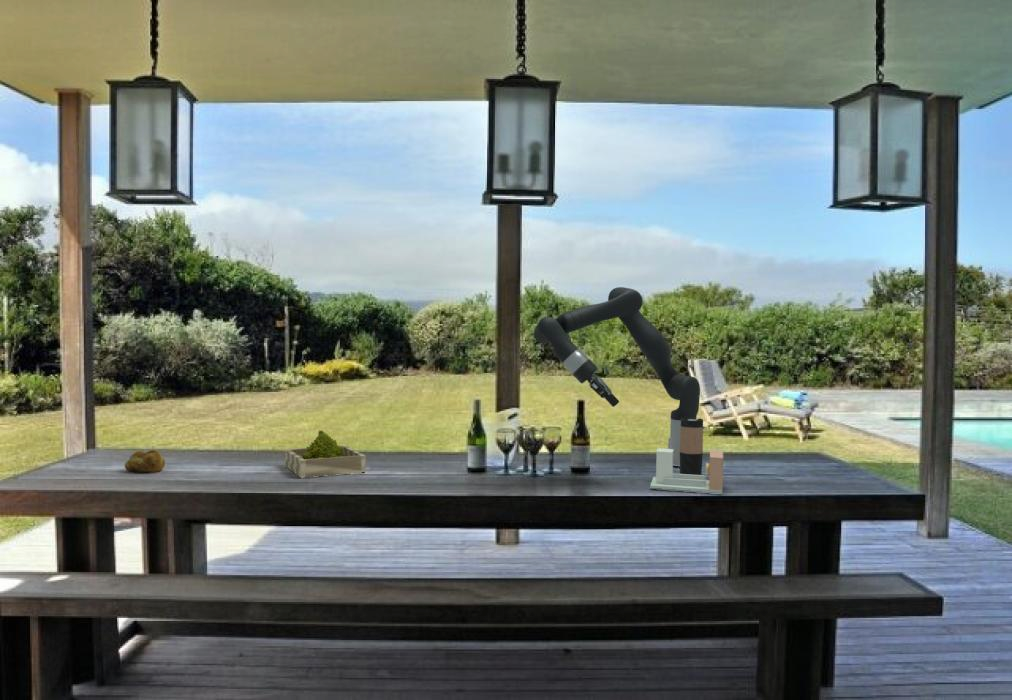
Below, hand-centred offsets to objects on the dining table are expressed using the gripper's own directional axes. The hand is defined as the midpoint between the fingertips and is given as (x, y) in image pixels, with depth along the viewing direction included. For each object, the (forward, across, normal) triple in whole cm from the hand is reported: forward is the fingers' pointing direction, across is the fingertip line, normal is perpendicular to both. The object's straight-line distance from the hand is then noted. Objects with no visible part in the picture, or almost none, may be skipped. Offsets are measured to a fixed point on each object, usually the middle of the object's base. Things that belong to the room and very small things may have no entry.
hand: (616, 404), depth 258 cm
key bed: (+35, 0, +2) cm, 35 cm away
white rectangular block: (+28, 0, +6) cm, 29 cm away
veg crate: (-52, -10, +89) cm, 103 cm away
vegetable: (-52, -10, +89) cm, 104 cm away
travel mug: (+35, +18, +2) cm, 39 cm away
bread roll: (-92, -31, +129) cm, 161 cm away
